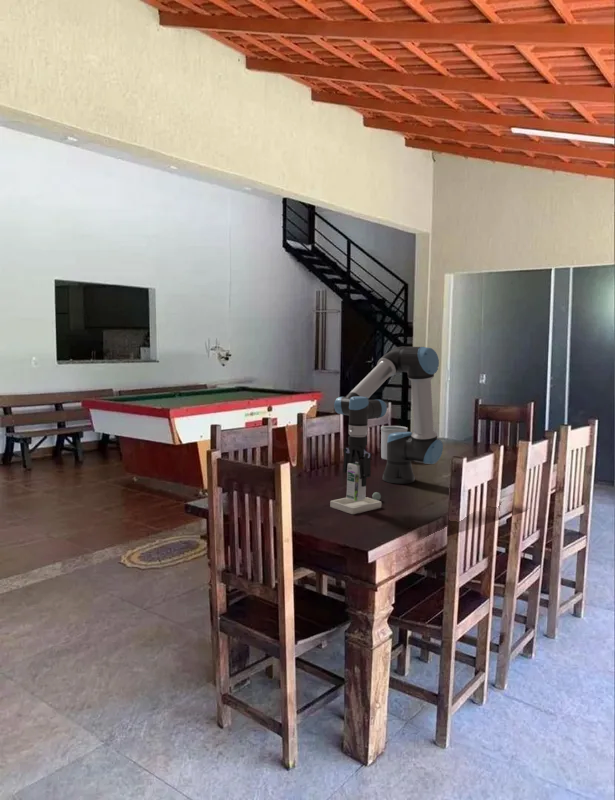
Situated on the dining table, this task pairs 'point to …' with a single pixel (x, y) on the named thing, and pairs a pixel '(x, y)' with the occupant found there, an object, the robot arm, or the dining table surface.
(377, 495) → the ball
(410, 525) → the dining table surface
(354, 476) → the syrup box
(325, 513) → the dining table surface
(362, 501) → the tray
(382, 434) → the utensil holder
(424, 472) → the dining table surface
